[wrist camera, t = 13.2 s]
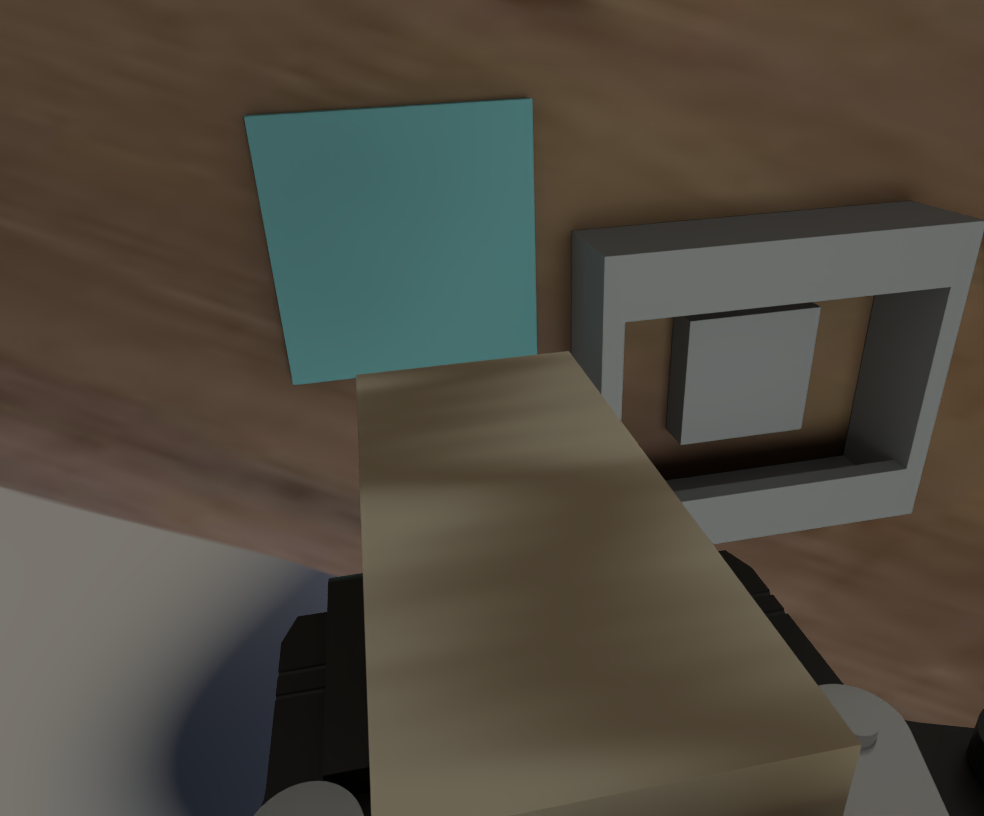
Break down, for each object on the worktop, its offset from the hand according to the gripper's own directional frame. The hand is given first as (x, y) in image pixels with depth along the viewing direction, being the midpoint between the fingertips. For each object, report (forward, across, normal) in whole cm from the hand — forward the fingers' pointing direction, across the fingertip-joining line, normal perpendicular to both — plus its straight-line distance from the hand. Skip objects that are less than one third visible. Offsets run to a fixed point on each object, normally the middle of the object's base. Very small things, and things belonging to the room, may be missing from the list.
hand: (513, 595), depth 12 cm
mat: (+25, 0, 0) cm, 25 cm away
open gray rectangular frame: (+25, -17, +8) cm, 31 cm away
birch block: (+5, 0, 0) cm, 5 cm away
